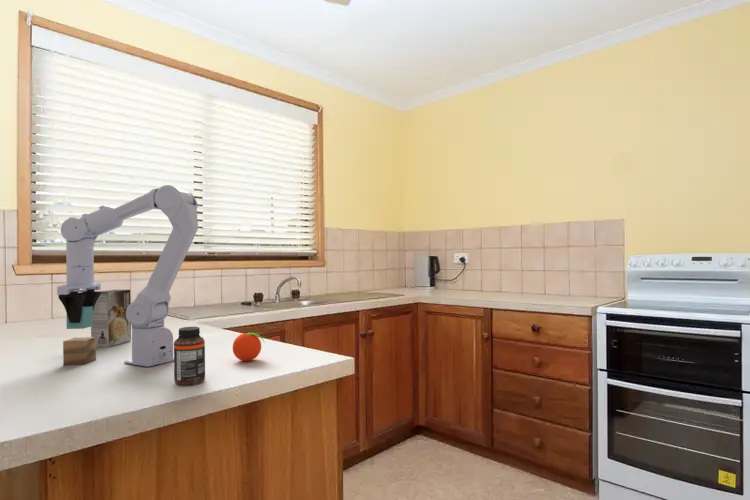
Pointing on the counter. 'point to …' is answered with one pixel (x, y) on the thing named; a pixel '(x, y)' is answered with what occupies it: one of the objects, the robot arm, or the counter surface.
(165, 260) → the robot arm
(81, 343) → the tower upper
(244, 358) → the clementine
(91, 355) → the tower lower
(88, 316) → the teal block
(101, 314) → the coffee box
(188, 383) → the supplement bottle
